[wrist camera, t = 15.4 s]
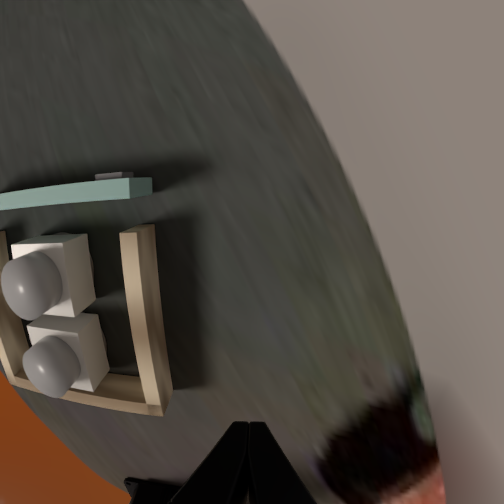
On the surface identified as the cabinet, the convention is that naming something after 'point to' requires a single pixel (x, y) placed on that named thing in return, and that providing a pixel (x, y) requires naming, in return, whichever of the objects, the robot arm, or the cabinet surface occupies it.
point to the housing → (142, 326)
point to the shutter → (80, 191)
